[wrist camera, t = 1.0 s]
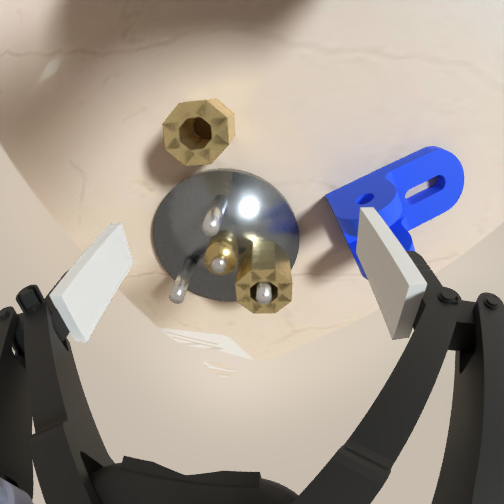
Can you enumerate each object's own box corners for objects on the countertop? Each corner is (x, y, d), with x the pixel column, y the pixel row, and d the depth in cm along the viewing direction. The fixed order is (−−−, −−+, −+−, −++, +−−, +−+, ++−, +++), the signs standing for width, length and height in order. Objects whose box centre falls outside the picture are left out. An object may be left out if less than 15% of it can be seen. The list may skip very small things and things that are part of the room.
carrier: (145, 174, 33) (115, 199, 26) (300, 166, 32) (310, 190, 25) (170, 295, 42) (154, 335, 35) (295, 295, 41) (300, 338, 34)
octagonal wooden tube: (178, 102, 29) (160, 105, 23) (233, 97, 28) (226, 98, 23) (183, 154, 32) (167, 167, 26) (236, 150, 31) (230, 163, 26)
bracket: (349, 248, 37) (369, 291, 29) (324, 194, 34) (342, 228, 26) (460, 193, 32) (499, 222, 24) (446, 136, 29) (490, 155, 21)
